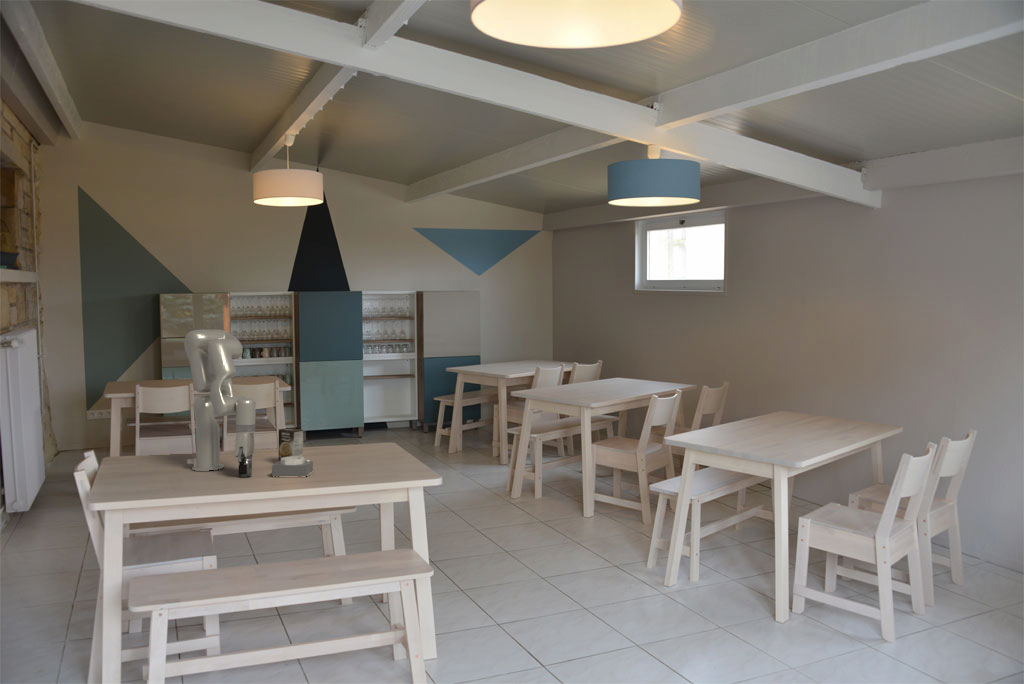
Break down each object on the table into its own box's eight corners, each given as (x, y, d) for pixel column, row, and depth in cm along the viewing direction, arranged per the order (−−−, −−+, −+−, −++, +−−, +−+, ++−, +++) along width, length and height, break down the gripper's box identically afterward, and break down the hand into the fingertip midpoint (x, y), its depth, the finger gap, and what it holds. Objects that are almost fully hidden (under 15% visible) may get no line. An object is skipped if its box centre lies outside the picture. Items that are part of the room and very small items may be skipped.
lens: (236, 477, 308) (236, 457, 308) (241, 474, 313) (241, 454, 313) (249, 477, 308) (249, 457, 308) (253, 474, 313) (253, 455, 313)
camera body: (272, 477, 310) (272, 460, 309) (279, 472, 320) (279, 456, 319) (306, 477, 310) (306, 460, 309) (312, 472, 320) (312, 456, 319)
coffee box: (277, 465, 335) (277, 429, 334) (288, 463, 341) (288, 427, 340) (293, 467, 331) (293, 430, 330) (303, 465, 336) (303, 429, 336)
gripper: (243, 425, 319) (243, 468, 319) (228, 431, 302) (228, 477, 302) (261, 425, 319) (261, 468, 319) (247, 432, 302) (247, 477, 302)
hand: (245, 472), depth 311 cm, fingers closed on lens, 5 cm apart
